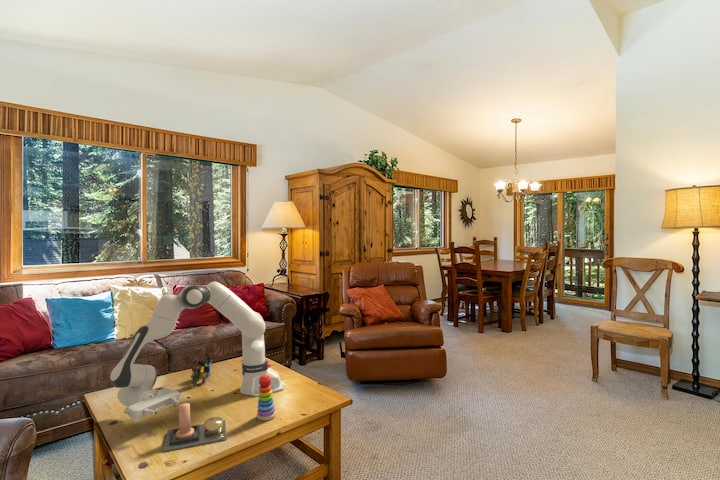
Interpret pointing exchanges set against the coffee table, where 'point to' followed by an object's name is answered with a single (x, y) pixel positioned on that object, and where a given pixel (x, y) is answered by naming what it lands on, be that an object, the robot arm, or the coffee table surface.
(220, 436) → the carrier plate
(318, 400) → the coffee table surface
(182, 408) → the pink peg on base
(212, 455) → the coffee table surface
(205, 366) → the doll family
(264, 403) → the stacking toy
